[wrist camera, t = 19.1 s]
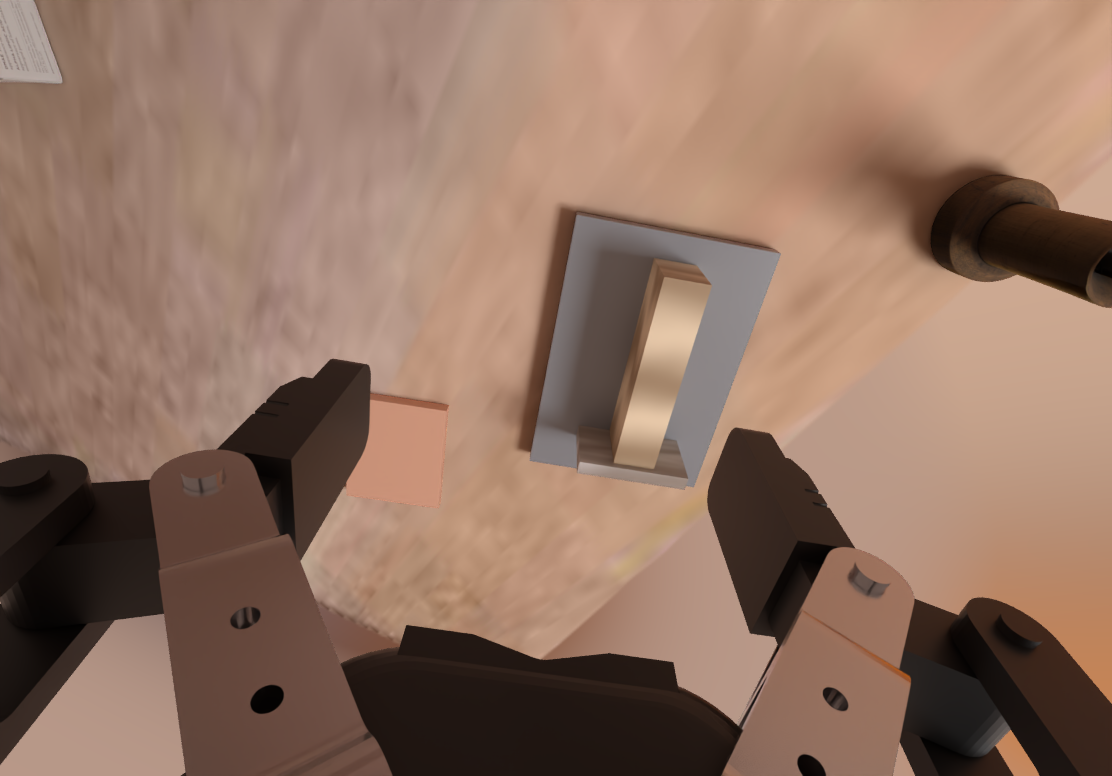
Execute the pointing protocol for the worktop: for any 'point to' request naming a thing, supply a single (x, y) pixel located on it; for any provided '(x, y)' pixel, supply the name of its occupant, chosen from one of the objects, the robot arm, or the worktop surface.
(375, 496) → the tile
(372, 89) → the worktop surface
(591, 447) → the beige rectangular block
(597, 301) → the board
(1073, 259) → the dark brown tall piece
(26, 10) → the skincare box
